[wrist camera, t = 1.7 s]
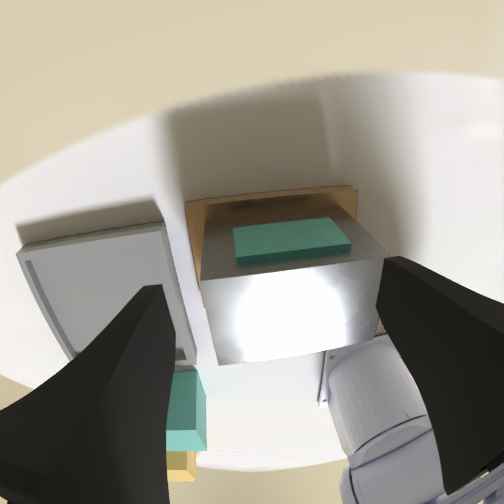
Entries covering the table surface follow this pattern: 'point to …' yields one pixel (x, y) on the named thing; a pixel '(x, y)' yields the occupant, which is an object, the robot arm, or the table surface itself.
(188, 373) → the teal block
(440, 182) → the table surface
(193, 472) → the ochre block
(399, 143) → the table surface
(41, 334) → the table surface
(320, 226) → the silver unit
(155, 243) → the slate tray
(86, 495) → the robot arm
